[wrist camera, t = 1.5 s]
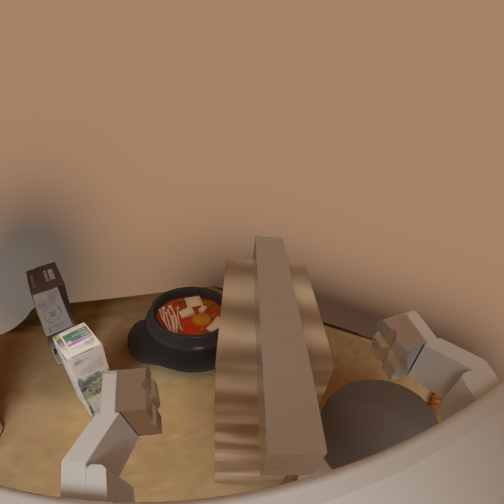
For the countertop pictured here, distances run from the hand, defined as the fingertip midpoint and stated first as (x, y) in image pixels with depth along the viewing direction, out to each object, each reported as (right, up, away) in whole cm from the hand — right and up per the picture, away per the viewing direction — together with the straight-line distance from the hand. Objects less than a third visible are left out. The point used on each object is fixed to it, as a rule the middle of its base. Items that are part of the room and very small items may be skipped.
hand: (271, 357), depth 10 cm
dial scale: (+12, -29, +25) cm, 40 cm away
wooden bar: (+1, -3, +15) cm, 16 cm away
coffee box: (-37, -15, +42) cm, 58 cm away
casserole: (-12, -14, +49) cm, 52 cm away
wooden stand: (-1, -24, +31) cm, 39 cm away
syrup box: (-26, -21, +33) cm, 47 cm away
